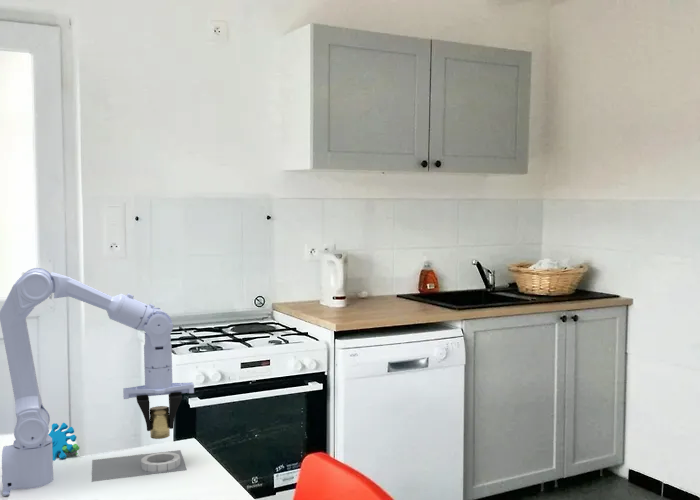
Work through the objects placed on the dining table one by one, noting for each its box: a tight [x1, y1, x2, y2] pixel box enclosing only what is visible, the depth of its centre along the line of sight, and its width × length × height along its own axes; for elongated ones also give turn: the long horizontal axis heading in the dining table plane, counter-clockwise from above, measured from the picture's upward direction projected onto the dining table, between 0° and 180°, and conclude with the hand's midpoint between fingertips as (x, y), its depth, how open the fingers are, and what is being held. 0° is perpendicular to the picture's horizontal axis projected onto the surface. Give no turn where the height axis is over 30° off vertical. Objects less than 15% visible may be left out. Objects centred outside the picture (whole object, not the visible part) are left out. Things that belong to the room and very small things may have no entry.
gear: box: [48, 422, 80, 462], centre depth 167 cm, size 11×6×10 cm
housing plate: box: [91, 449, 188, 483], centre depth 159 cm, size 19×14×2 cm
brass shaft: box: [149, 405, 171, 440], centre depth 158 cm, size 4×4×6 cm
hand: (159, 428), depth 158 cm, fingers closed on brass shaft, 4 cm apart
